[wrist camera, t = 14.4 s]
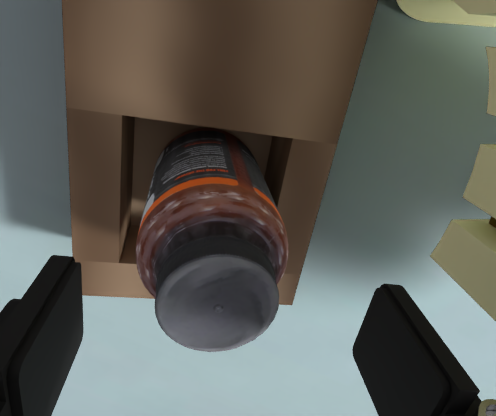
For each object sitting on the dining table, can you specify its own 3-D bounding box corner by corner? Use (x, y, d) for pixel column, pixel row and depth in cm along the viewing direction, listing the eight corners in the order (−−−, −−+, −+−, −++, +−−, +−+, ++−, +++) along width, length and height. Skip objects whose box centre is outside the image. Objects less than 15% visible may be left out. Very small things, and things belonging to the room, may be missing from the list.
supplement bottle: (132, 169, 21) (73, 305, 11) (213, 102, 20) (232, 184, 10) (201, 237, 23) (206, 398, 13) (276, 180, 22) (343, 310, 12)
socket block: (386, -207, 16) (461, -297, 11) (275, 257, 26) (292, 304, 22) (92, -307, 14) (41, -468, 9) (96, 244, 24) (74, 294, 19)
